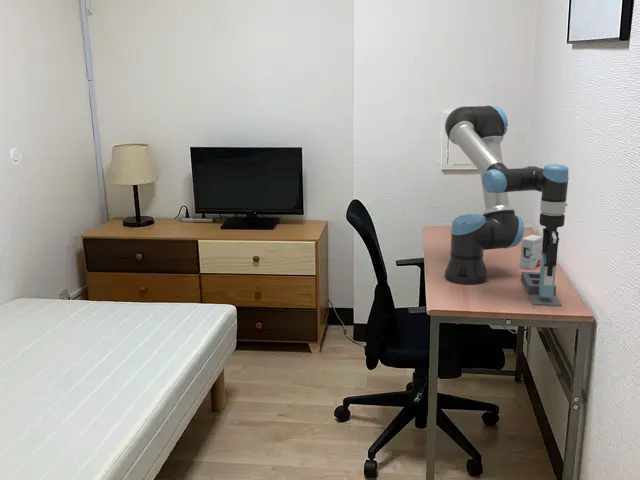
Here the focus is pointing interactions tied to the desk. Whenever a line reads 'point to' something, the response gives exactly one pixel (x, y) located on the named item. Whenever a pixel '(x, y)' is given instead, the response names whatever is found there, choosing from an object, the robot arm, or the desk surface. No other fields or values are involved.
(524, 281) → the header
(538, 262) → the ink box
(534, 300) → the pad
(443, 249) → the desk surface
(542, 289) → the plug
